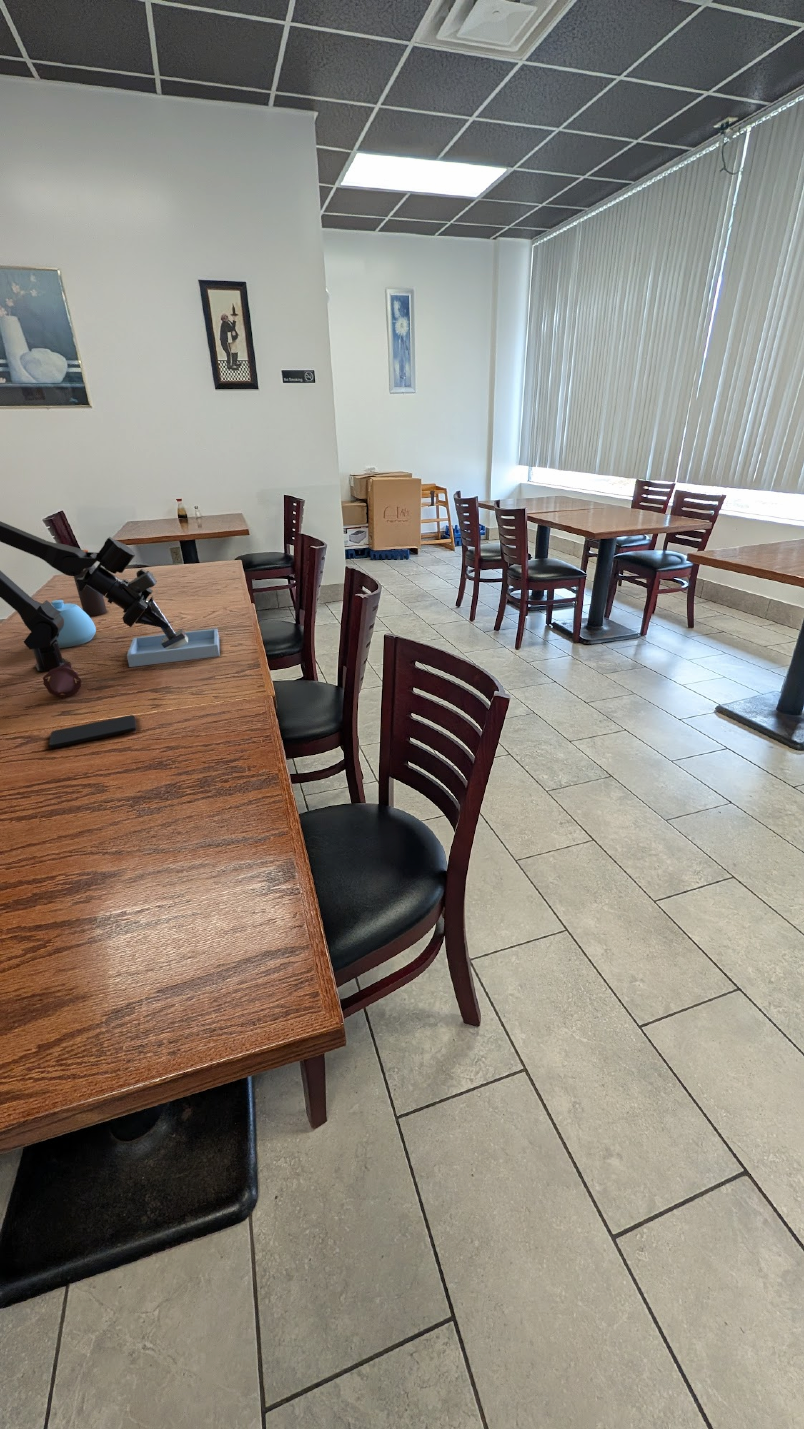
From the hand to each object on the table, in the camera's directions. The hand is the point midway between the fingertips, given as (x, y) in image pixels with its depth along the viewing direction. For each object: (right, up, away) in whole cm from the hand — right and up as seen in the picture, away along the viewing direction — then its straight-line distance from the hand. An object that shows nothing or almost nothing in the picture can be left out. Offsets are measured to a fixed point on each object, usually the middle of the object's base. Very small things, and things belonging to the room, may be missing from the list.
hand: (168, 625), depth 151 cm
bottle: (-40, +10, +40) cm, 58 cm away
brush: (+1, -5, +3) cm, 6 cm away
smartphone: (+1, -27, -38) cm, 47 cm away
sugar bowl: (-34, -2, +15) cm, 37 cm away
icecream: (-14, -19, -20) cm, 31 cm away
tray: (+1, -7, +3) cm, 7 cm away
